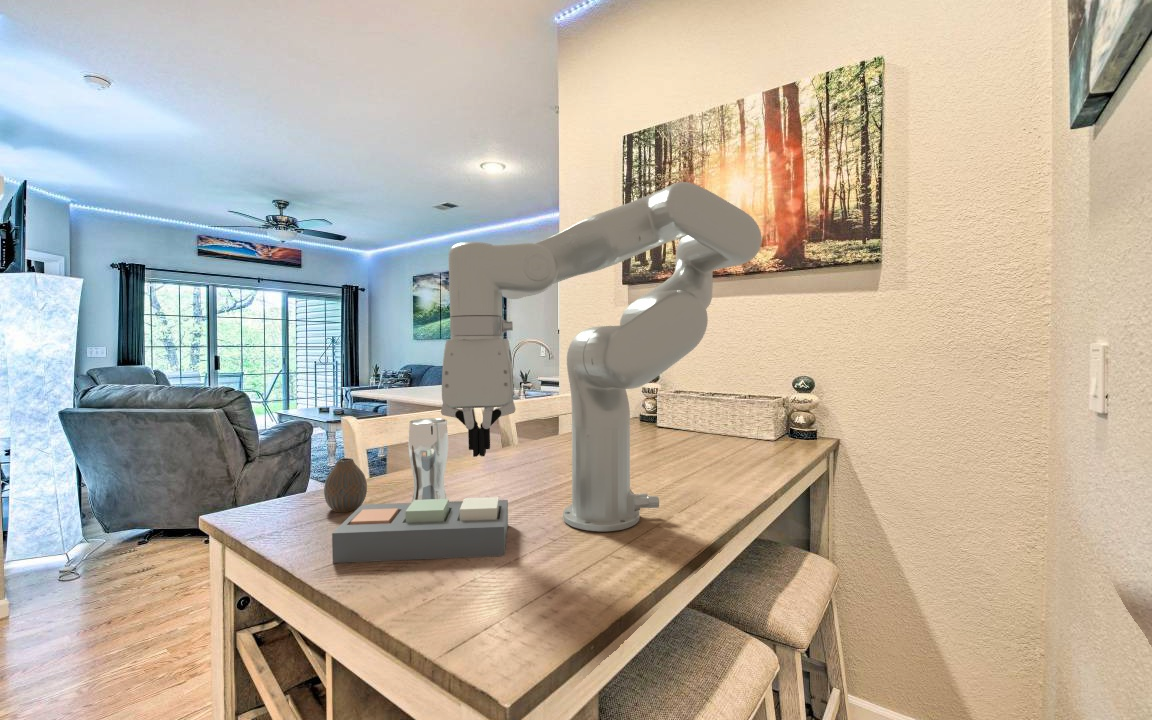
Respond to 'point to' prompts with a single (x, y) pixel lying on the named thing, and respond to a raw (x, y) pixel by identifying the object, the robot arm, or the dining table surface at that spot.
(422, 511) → the sage button
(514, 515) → the dining table surface
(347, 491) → the vase
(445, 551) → the button panel
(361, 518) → the terracotta button
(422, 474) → the beer glass
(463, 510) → the cream button
